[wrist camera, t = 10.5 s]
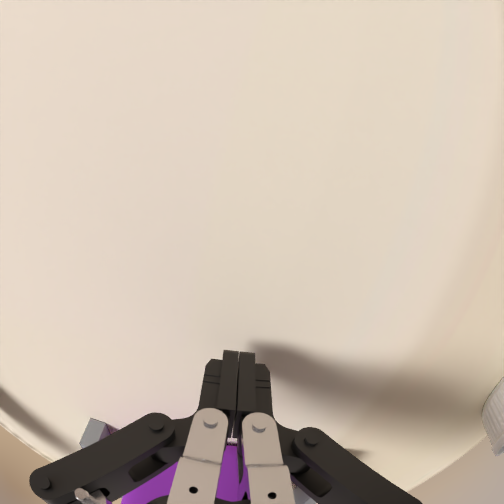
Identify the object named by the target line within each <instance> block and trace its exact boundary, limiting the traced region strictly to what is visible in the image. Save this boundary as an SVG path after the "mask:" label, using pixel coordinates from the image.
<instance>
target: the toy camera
mask: <svg viewBox="0 0 504 504" xmlns="http://www.w3.org/2000/svg"><path fill="white" fill-rule="evenodd" d="M236 449H237V446H230V445H226V450H225V451H224V455H223V461H222V467H221V472H220V478H219V484H218V490H217V496H216V498H220V499H223V500H226V501H230V502H234V501H237V492H238V480H237V463H236ZM177 465H178V462H176V463H175V464H173V465H172V466H171V467H169V468H168V469H166V470H165V471H163V472H162V473H160V474H158V475H157V476H155V477H154V478H152V479H151V480H149V481H147V482H146V483H144V484H143V485H141V486H139V487H138V488H136V489H134V490H133V491H131V492H129V493H127V494H126V495H124V496H123V497H122V502H121V504H147V503H148V502H150V501H151V500H153V499H156V498H158V497H161V496H165V495H169V494H170V490H171V486H172V483H173V479H174V476H175V472H176V469H177Z"/></svg>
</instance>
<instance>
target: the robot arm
mask: <svg viewBox="0 0 504 504" xmlns="http://www.w3.org/2000/svg"><path fill="white" fill-rule="evenodd" d="M238 356H239V360H238ZM232 428H233V436H232V438H237V449H236V463H237V480H238V492H237V501H234V502H230V501H226V500H223V499H220V498H216V496H217V490H218V484H219V478H220V472H221V467H222V461H223V455H224V451H225V450H226V445H227V439H228V438H231V434H232ZM176 462H178V465H177V469H176V472H175V476H174V479H173V483H172V486H171V490H170V494H169V495H165V496H161V497H158V498H156V499H153V500H151V501H150V502H148V503H147V504H295V500H294V494H293V489H292V484H291V481H292V482H293V483H294V484H295V485H297V486H298V487H299V488H300V489H301V490H302V491H303V492H305V493H306V494H307V495H308V496H309V497H310V498H312V499H313V500H314V501H315V502H317V503H318V504H422V503H421V502H420V501H419V500H418V499H416V498H415V497H413V496H411V495H410V494H408V493H407V492H405V491H404V490H402V489H400V488H399V487H397V486H396V485H394V484H393V483H391V482H390V481H388V480H387V479H385V478H384V477H382V476H381V475H380V474H378V473H377V472H375V471H374V470H372V469H371V468H370V467H368V466H367V465H365V464H364V463H363V462H361V461H360V460H359V459H357V458H356V457H355V456H353V455H352V454H351V453H349V452H348V451H347V450H345V449H344V448H343V447H342V446H340V445H339V444H338V443H336V442H335V441H334V440H333V439H331V438H330V437H329V436H328V435H326V434H325V433H324V432H323V431H321V430H319V429H317V428H313V427H307V428H303V429H301V430H299V431H296V430H292V429H288V428H285V427H283V426H281V425H280V424H279V423H277V421H276V420H275V419H274V417H273V411H272V397H271V382H270V372H269V370H268V368H267V367H266V365H265V364H255V353H250V352H240V353H239V351H230V350H224V352H223V360H217V359H211V360H210V361H209V362H208V364H207V365H206V367H205V373H204V378H203V384H202V390H201V395H200V401H199V406H198V409H197V411H196V412H195V413H194V414H193V415H192V416H190V417H188V418H184V419H175V420H171V419H170V418H169V417H168V416H166V415H165V414H162V413H150V414H147V415H145V416H144V417H142V418H140V419H138V420H136V421H135V422H133V423H131V424H129V425H128V426H126V427H124V428H122V429H120V430H118V431H116V432H115V433H113V434H111V435H109V436H107V437H105V438H103V439H101V440H99V441H97V442H95V443H93V444H91V445H89V446H87V447H85V448H83V449H81V450H79V451H77V452H75V453H73V454H70V455H68V456H66V457H64V458H62V459H59V460H57V461H55V462H53V463H50V464H48V465H46V466H43V467H41V468H38V469H36V470H35V471H33V473H32V474H31V475H30V486H31V488H32V490H33V492H34V493H35V494H36V495H37V496H39V497H40V498H42V499H43V500H44V501H45V502H46V503H48V504H112V503H111V502H113V501H115V500H117V499H118V498H120V497H122V496H124V495H126V494H127V493H129V492H131V491H133V490H134V489H136V488H138V487H139V486H141V485H143V484H144V483H146V482H147V481H149V480H151V479H152V478H154V477H155V476H157V475H158V474H160V473H162V472H163V471H165V470H166V469H168V468H169V467H171V466H172V465H173V464H175V463H176Z"/></svg>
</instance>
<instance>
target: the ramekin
mask: <svg viewBox="0 0 504 504" xmlns="http://www.w3.org/2000/svg"><path fill="white" fill-rule="evenodd" d="M482 421H483V424H484V427H485V429H486V432H487V434H488V436H489V439H490V441H491V444H492V451H493V452H494V454H495V456H499V455H501V454H502V453H504V377H503V378H502V380H501V381H500V382H499V383H498V385H497V386H496V387H495V388H494V390H493V391H492V393H491V394H490V396H489V397H488V399H487V400H486V402H485V404H484V407H483V412H482Z"/></svg>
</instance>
